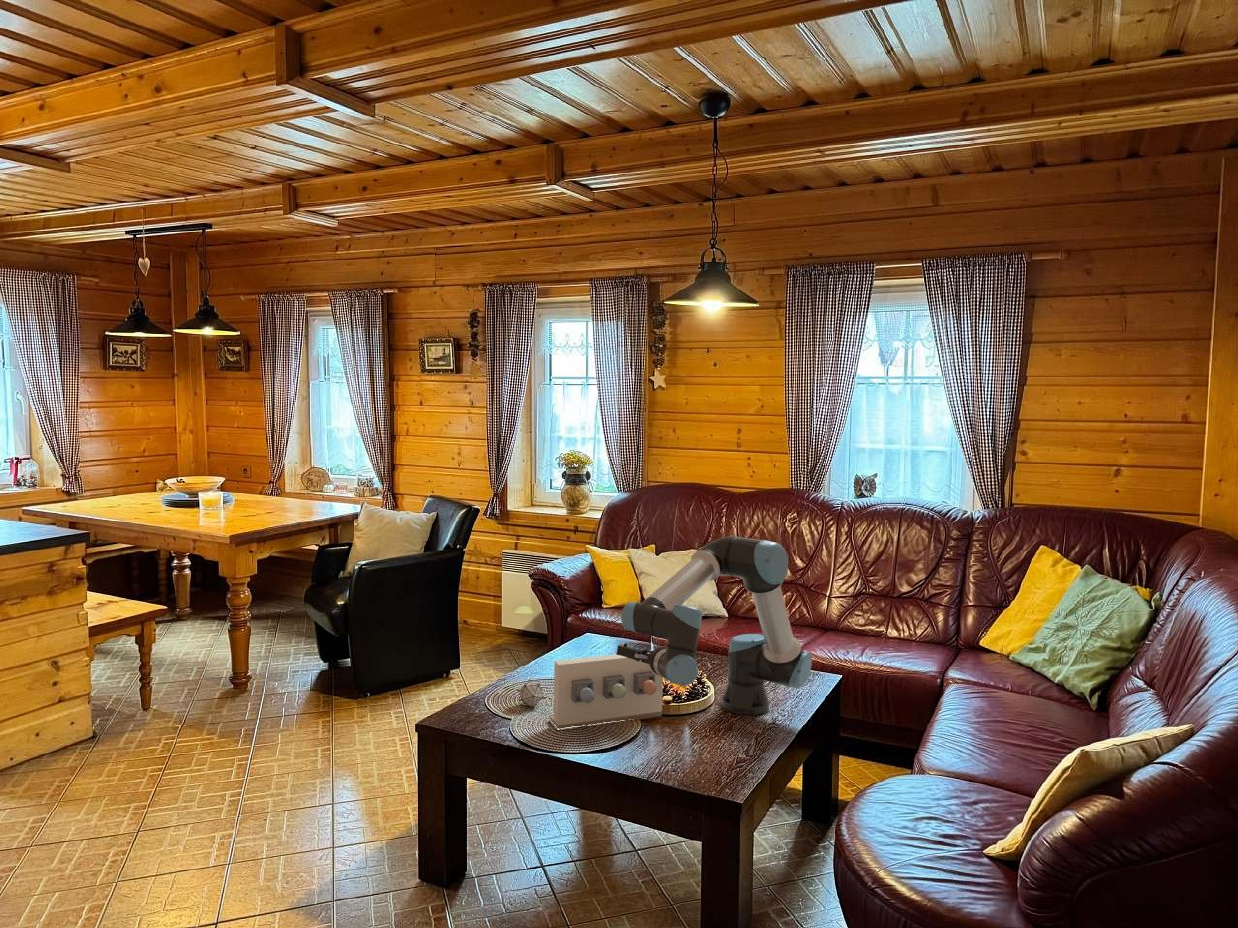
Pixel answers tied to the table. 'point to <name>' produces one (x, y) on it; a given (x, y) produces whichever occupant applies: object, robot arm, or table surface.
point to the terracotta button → (649, 687)
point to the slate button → (586, 695)
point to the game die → (531, 694)
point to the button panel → (603, 690)
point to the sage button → (618, 691)
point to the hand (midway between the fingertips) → (644, 652)
